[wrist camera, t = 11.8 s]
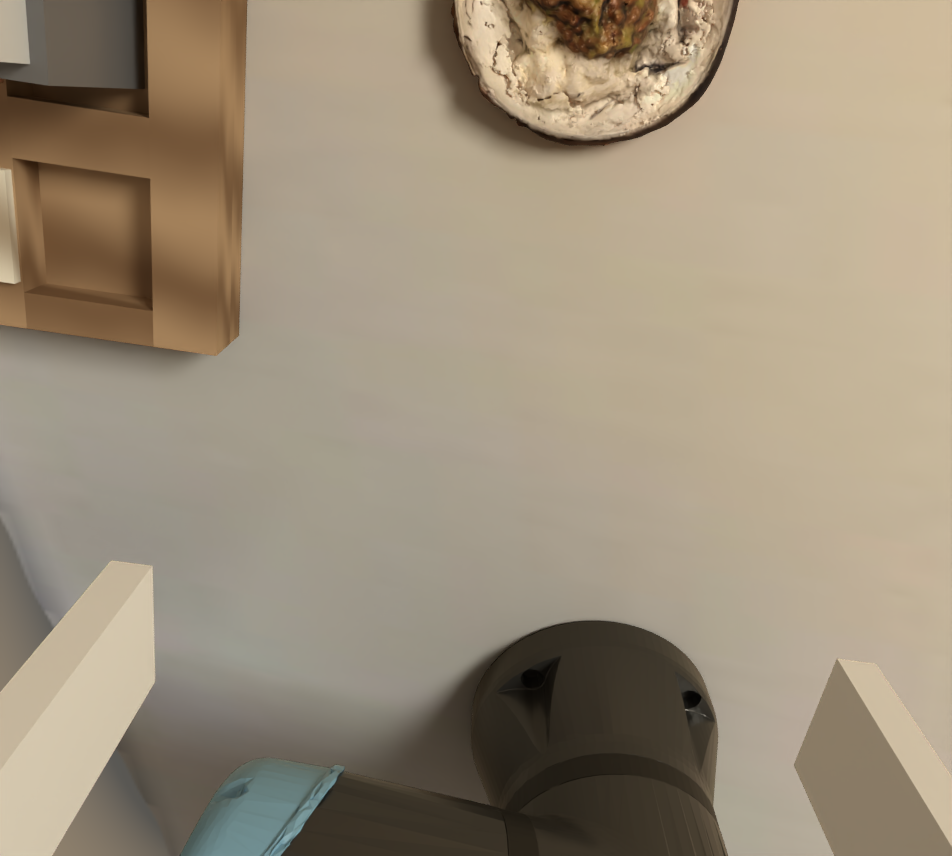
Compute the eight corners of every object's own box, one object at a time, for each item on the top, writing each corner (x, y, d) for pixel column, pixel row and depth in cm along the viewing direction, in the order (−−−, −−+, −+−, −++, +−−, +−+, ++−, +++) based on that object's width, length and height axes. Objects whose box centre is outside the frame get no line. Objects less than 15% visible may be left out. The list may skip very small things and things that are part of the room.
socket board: (238, 335, 40) (212, 358, 37) (6, 301, 40) (-44, 322, 36) (248, -65, 33) (217, -86, 30) (-33, -111, 33) (-100, -138, 29)
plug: (144, 89, 34) (15, 84, 25) (54, 75, 34) (-109, 65, 25) (142, -13, 33) (4, -58, 24) (48, -28, 33) (-129, -79, 24)
